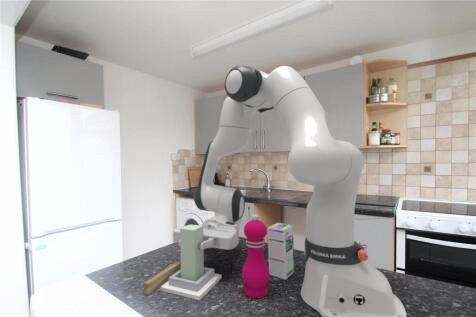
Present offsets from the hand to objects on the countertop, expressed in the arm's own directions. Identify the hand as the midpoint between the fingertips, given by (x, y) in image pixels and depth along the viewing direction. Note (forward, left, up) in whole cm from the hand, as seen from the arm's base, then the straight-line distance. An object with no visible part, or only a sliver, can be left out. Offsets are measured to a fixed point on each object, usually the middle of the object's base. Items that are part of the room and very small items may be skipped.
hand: (190, 245), depth 66 cm
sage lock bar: (0, -1, -9) cm, 9 cm away
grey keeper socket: (0, -1, -11) cm, 11 cm away
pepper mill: (-18, -4, -11) cm, 21 cm away
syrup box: (-22, -16, -11) cm, 29 cm away
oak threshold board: (+8, +1, -11) cm, 14 cm away
